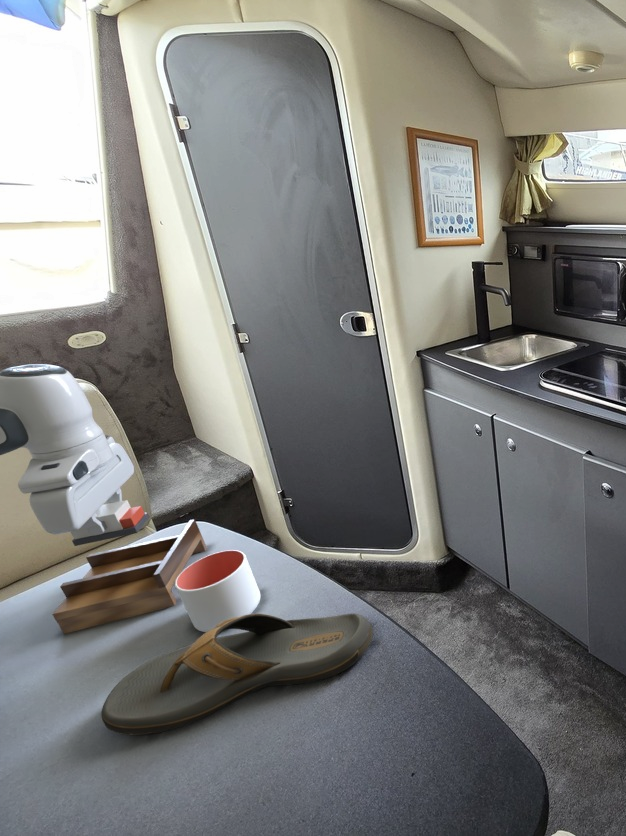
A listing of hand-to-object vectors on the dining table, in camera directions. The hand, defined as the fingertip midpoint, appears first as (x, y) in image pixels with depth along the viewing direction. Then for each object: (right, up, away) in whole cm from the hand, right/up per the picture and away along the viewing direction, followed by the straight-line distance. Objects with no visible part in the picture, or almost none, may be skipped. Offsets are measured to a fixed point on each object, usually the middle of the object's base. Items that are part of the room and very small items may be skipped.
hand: (108, 522), depth 89 cm
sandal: (+35, -21, -12) cm, 43 cm away
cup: (+22, -16, 0) cm, 27 cm away
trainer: (0, -2, +1) cm, 2 cm away
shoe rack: (0, -15, +7) cm, 16 cm away
